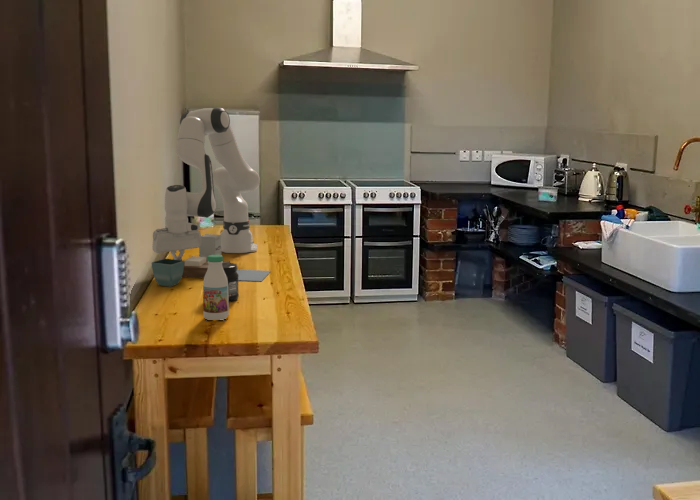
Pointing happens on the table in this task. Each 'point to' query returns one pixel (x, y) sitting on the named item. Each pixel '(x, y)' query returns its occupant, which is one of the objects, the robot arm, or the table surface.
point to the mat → (252, 275)
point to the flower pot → (168, 271)
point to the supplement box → (210, 245)
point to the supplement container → (231, 280)
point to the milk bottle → (215, 290)
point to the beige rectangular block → (195, 261)
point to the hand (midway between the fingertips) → (177, 261)
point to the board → (196, 270)
